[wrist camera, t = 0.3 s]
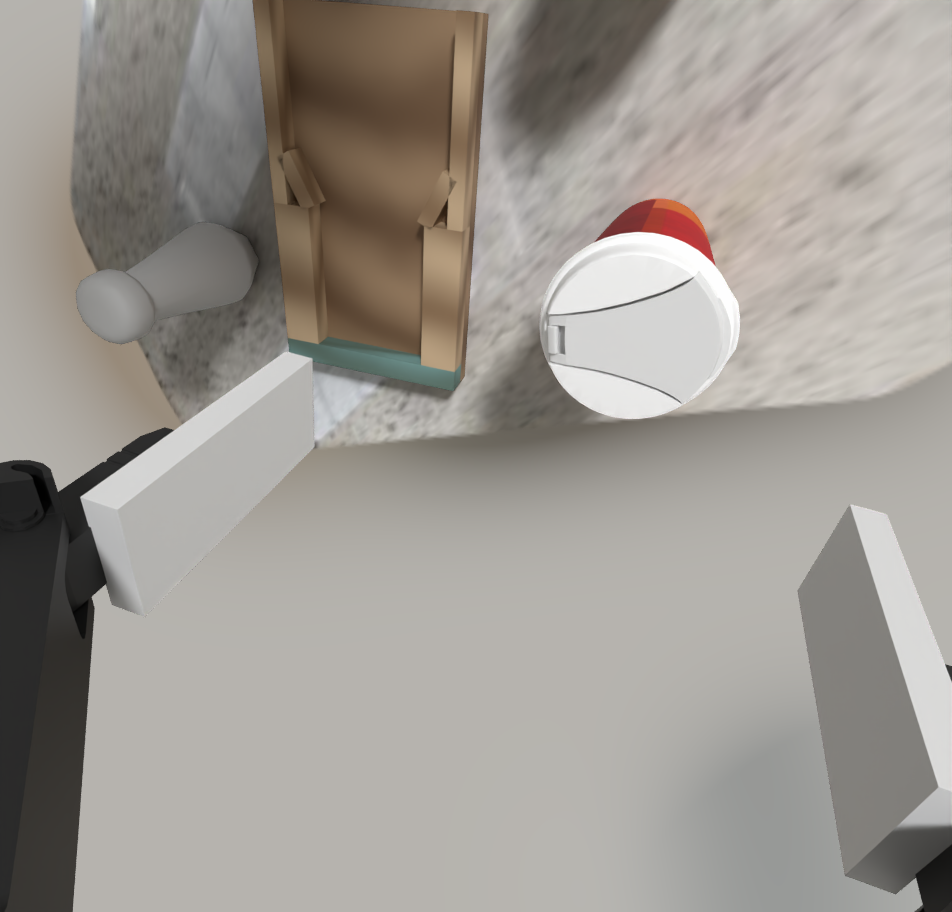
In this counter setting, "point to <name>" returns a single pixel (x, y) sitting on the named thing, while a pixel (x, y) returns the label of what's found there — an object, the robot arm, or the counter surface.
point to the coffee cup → (640, 315)
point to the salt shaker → (169, 283)
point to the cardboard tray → (374, 180)
